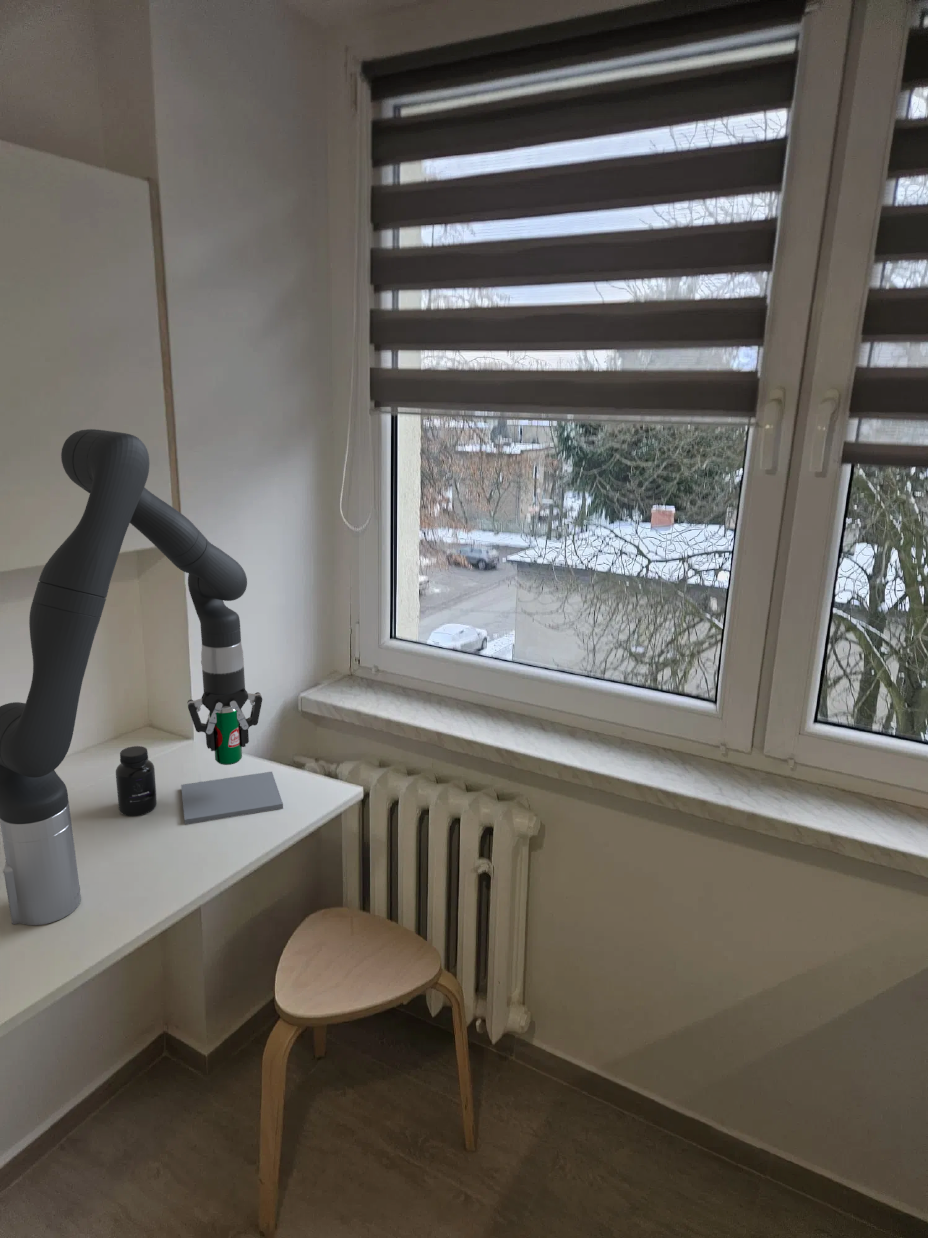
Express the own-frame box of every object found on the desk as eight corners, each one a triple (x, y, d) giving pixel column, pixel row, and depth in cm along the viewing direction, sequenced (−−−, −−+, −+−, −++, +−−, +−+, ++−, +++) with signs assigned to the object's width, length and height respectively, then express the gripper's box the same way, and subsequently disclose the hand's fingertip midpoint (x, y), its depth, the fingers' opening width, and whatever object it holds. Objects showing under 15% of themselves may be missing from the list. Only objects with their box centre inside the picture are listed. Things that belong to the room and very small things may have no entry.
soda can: (234, 767, 149) (231, 709, 146) (210, 764, 150) (206, 706, 147) (246, 756, 154) (243, 699, 151) (223, 753, 155) (219, 696, 152)
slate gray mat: (185, 824, 145) (184, 819, 145) (181, 789, 158) (181, 784, 157) (283, 808, 152) (282, 803, 151) (272, 775, 164) (272, 771, 164)
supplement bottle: (140, 820, 146) (134, 762, 143) (111, 813, 148) (104, 755, 145) (165, 803, 152) (160, 747, 149) (136, 796, 154) (131, 741, 151)
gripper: (183, 675, 141) (190, 761, 145) (264, 667, 146) (268, 750, 151) (181, 662, 147) (188, 744, 152) (259, 654, 152) (263, 734, 157)
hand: (228, 747), depth 151 cm, fingers closed on soda can, 5 cm apart
